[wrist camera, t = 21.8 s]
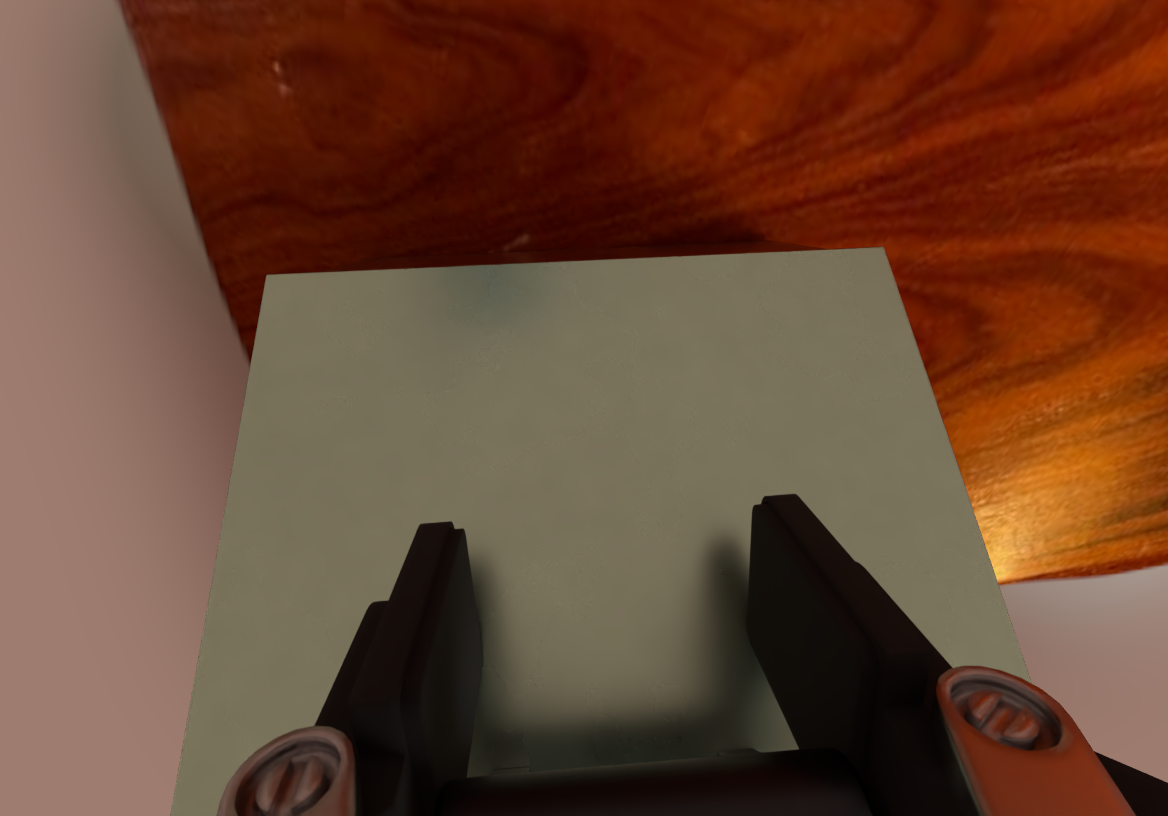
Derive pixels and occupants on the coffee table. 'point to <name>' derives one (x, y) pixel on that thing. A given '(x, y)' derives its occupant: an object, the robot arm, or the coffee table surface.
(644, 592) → the lid
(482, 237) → the coffee table surface
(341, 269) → the box
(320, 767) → the robot arm
